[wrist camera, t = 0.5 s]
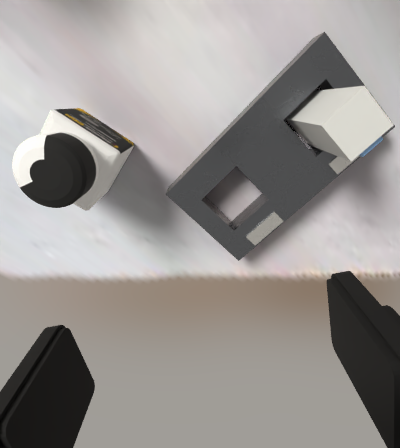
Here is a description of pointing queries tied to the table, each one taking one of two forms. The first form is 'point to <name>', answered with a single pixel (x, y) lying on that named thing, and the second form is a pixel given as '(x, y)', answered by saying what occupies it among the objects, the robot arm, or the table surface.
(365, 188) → the table surface
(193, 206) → the jack panel
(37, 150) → the medicine bottle
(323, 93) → the plug
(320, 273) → the table surface
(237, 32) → the table surface
